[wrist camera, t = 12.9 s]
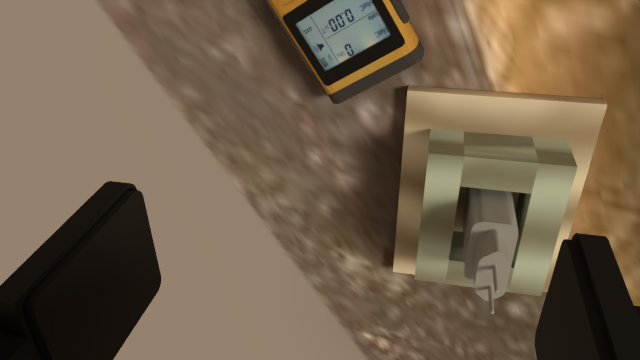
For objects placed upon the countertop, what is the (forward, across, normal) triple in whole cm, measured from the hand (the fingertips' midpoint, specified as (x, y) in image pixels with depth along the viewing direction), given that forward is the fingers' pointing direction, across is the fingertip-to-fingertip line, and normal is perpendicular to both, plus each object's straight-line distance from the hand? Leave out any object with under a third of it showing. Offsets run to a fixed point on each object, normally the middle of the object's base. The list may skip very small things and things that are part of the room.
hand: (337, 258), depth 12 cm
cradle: (+30, -7, +17) cm, 35 cm away
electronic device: (+31, +6, 0) cm, 32 cm away
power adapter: (+30, -7, +17) cm, 35 cm away
